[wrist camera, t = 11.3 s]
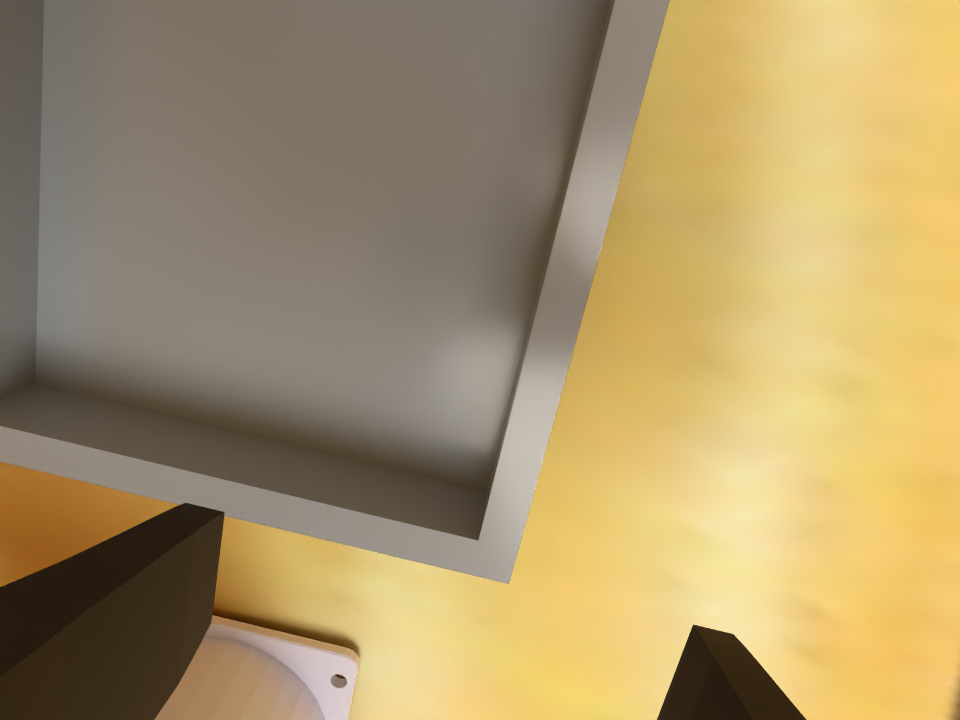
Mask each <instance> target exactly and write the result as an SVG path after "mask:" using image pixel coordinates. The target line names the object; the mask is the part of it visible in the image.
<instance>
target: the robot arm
mask: <svg viewBox="0 0 960 720" xmlns="http://www.w3.org/2000/svg"><path fill="white" fill-rule="evenodd" d="M224 513H225V512H223V511H219V510H214V509H210V508H206V507H202V506H198V505H194V504H190V503H183V504H181V505H179V506H177V507H174V508H172V509H170V510H168V511H166V512H164V513H161V514H159V515H157V516H155V517H153V518H151V519H149V520H147V521H145V522H143V523H141V524H139V525H137V526H135V527H133V528H131V529H129V530H127V531H125V532H123V533H120V534H118V535H116V536H114V537H112V538H110V539H108V540H106V541H104V542H102V543H100V544H97V545H95V546H93V547H91V548H89V549H87V550H85V551H83V552H81V553H78V554H76V555H74V556H72V557H70V558H68V559H66V560H63V561H61V562H59V563H57V564H54V565H52V566H50V567H47V568H45V569H43V570H40V571H38V572H35V573H33V574H31V575H28V576H26V577H24V578H21V579H19V580H17V581H14V582H12V583H10V584H7V585H5V586H3V587H0V720H349V715H350V710H351V705H352V700H353V695H354V690H355V685H356V680H357V676H358V671H359V666H360V659H359V657H358V655H357V654H356V653H355V652H354V651H353V650H351V649H349V648H346V647H342V646H338V645H334V644H330V643H325V642H321V641H317V640H313V639H309V638H305V637H301V636H297V635H292V634H288V633H284V632H280V631H276V630H272V629H268V628H264V627H259V626H255V625H251V624H247V623H243V622H239V621H235V620H231V619H226V618H222V617H218V616H214V615H212V613H213V605H214V597H215V588H216V580H217V572H218V563H219V555H220V547H221V538H222V530H223V522H224ZM335 674H340V675H342V676H344V677H345V678H346V679H340V678H338V677H337V676H336V675H335ZM657 720H806V719H805V718H804V716H803V715H802V714H801V713H800V712H799V710H798V709H797V708H796V707H795V706H794V705H793V703H792V702H791V701H790V700H789V698H788V697H787V696H786V695H785V694H784V692H783V691H782V690H781V689H780V688H779V686H778V685H777V684H776V683H775V682H774V680H773V679H772V678H771V677H770V676H769V674H768V673H767V672H766V671H765V670H764V668H763V667H762V666H761V665H760V664H759V663H758V661H757V660H756V659H755V658H754V657H753V655H752V654H751V653H750V652H749V651H748V650H747V649H746V647H745V646H744V645H743V644H742V643H741V642H740V641H739V640H738V639H737V638H736V636H735V635H734V634H730V633H726V632H722V631H718V630H713V629H709V628H705V627H701V626H697V625H693V627H692V629H691V632H690V634H689V637H688V640H687V642H686V645H685V648H684V650H683V653H682V655H681V658H680V661H679V663H678V666H677V669H676V671H675V674H674V677H673V679H672V682H671V684H670V687H669V690H668V692H667V695H666V698H665V700H664V703H663V705H662V708H661V711H660V713H659V716H658V719H657Z"/></svg>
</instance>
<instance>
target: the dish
mask: <svg viewBox="0 0 960 720" xmlns="http://www.w3.org/2000/svg"><path fill="white" fill-rule="evenodd" d="M668 4H669V0H0V462H4V463H8V464H12V465H16V466H20V467H24V468H28V469H33V470H37V471H41V472H45V473H49V474H53V475H58V476H62V477H66V478H70V479H74V480H78V481H83V482H87V483H91V484H95V485H99V486H103V487H107V488H112V489H116V490H120V491H124V492H128V493H132V494H137V495H141V496H145V497H149V498H153V499H157V500H162V501H166V502H170V503H174V504H178V505H181V504H183V503H190V504H194V505H198V506H202V507H206V508H210V509H214V510H219V511H223V512H225V513H224V516H228V517H232V518H236V519H240V520H245V521H249V522H253V523H257V524H261V525H265V526H270V527H274V528H278V529H282V530H286V531H290V532H295V533H299V534H303V535H307V536H311V537H315V538H319V539H324V540H328V541H332V542H336V543H340V544H344V545H349V546H353V547H357V548H361V549H365V550H369V551H374V552H378V553H382V554H386V555H390V556H394V557H398V558H403V559H407V560H411V561H415V562H419V563H423V564H428V565H432V566H436V567H440V568H444V569H448V570H453V571H457V572H461V573H465V574H469V575H473V576H477V577H482V578H486V579H490V580H494V581H498V582H502V583H507V584H509V582H510V579H511V575H512V572H513V568H514V564H515V561H516V557H517V553H518V550H519V546H520V542H521V539H522V535H523V532H524V528H525V524H526V521H527V517H528V513H529V510H530V506H531V502H532V499H533V495H534V492H535V488H536V484H537V481H538V477H539V473H540V470H541V466H542V462H543V459H544V455H545V452H546V448H547V444H548V441H549V437H550V433H551V430H552V426H553V422H554V419H555V415H556V411H557V408H558V404H559V401H560V397H561V393H562V390H563V386H564V382H565V379H566V375H567V371H568V368H569V364H570V361H571V357H572V353H573V350H574V346H575V342H576V339H577V335H578V331H579V328H580V324H581V321H582V317H583V313H584V310H585V306H586V302H587V299H588V295H589V291H590V288H591V284H592V281H593V277H594V273H595V270H596V266H597V262H598V259H599V255H600V251H601V248H602V244H603V241H604V237H605V233H606V230H607V226H608V222H609V219H610V215H611V211H612V208H613V204H614V201H615V197H616V193H617V190H618V186H619V182H620V179H621V175H622V171H623V168H624V164H625V160H626V157H627V153H628V150H629V146H630V142H631V139H632V135H633V131H634V128H635V124H636V120H637V117H638V113H639V110H640V106H641V102H642V99H643V95H644V91H645V88H646V84H647V80H648V77H649V73H650V70H651V66H652V62H653V59H654V55H655V51H656V48H657V44H658V40H659V37H660V33H661V30H662V26H663V22H664V19H665V15H666V11H667V8H668Z"/></svg>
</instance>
